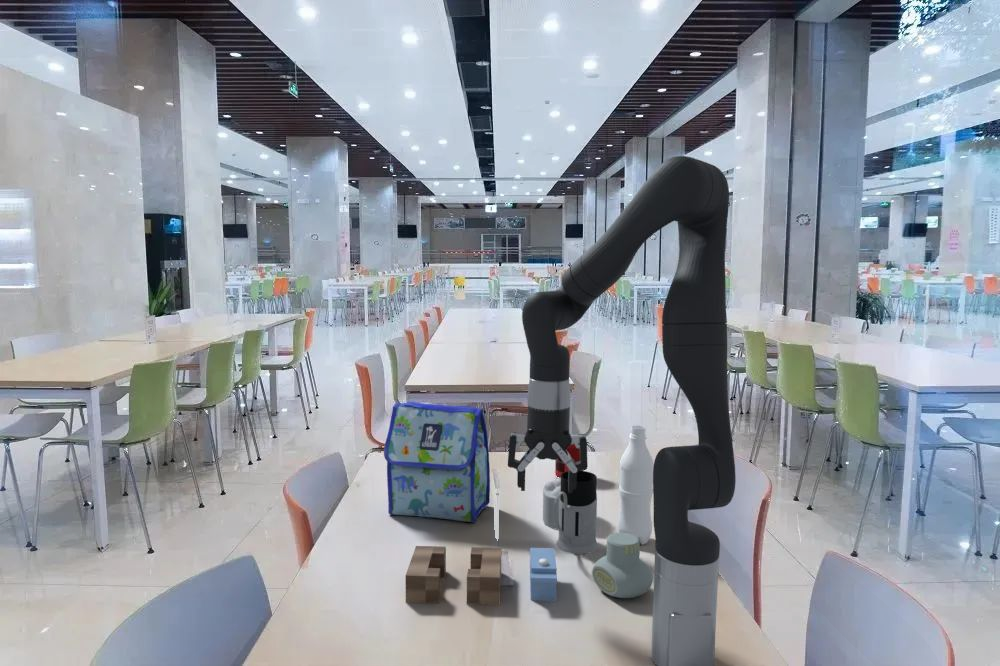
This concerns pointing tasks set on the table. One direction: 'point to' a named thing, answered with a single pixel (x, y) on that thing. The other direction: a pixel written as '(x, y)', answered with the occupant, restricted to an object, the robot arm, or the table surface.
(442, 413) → the lunch bag
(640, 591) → the air freshener
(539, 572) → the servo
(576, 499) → the glass holder
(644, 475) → the water bottle
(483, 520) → the table surface
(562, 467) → the canned food
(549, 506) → the lumpy-topped squat cylinder
